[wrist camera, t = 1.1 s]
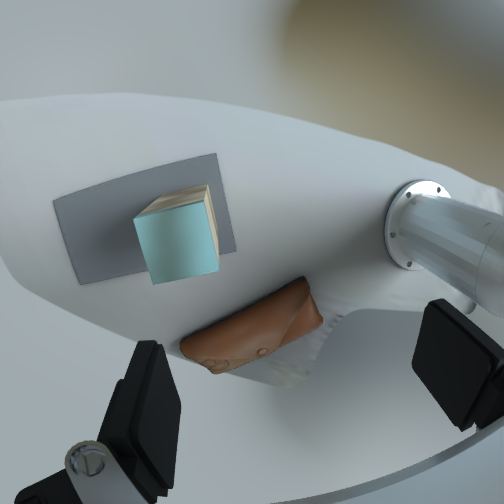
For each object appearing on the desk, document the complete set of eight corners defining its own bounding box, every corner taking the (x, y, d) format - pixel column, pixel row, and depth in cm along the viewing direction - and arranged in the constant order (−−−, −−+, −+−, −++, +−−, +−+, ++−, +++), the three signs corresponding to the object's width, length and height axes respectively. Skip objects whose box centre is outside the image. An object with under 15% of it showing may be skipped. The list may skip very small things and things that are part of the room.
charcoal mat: (216, 153, 30) (216, 153, 30) (236, 249, 34) (236, 251, 33) (55, 199, 29) (53, 200, 29) (82, 283, 33) (80, 285, 32)
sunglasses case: (214, 378, 40) (200, 392, 33) (191, 336, 41) (173, 343, 35) (327, 321, 39) (334, 326, 32) (303, 276, 40) (304, 273, 34)
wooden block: (207, 183, 31) (203, 202, 19) (217, 228, 32) (219, 270, 21) (162, 194, 30) (133, 219, 19) (173, 238, 32) (153, 284, 21)
